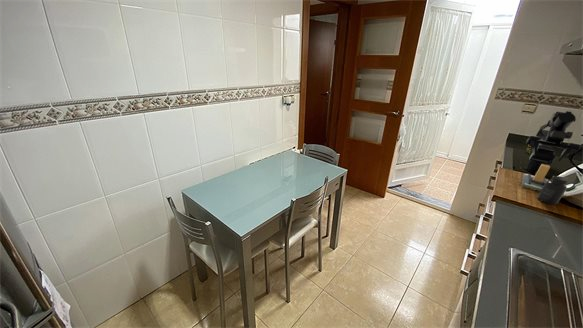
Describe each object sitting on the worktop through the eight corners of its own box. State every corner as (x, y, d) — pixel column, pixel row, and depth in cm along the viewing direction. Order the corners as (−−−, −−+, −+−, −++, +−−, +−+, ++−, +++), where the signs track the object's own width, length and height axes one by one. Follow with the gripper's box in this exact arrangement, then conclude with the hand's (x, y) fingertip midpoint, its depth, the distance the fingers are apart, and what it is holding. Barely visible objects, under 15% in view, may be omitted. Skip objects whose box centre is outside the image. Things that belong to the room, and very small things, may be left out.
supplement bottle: (561, 206, 105) (576, 183, 99) (543, 203, 106) (557, 181, 101) (549, 197, 111) (563, 175, 105) (532, 195, 112) (545, 173, 107)
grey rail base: (522, 175, 130) (524, 171, 129) (547, 182, 124) (549, 178, 123) (521, 186, 119) (524, 182, 118) (549, 194, 113) (552, 189, 112)
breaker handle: (530, 179, 123) (539, 163, 119) (542, 182, 121) (551, 166, 117) (530, 181, 121) (539, 165, 117) (542, 184, 118) (552, 168, 114)
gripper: (537, 120, 122) (527, 145, 120) (591, 128, 111) (581, 156, 109) (530, 131, 131) (520, 155, 128) (579, 140, 120) (569, 166, 117)
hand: (546, 158), depth 120 cm, fingers open, 9 cm apart
